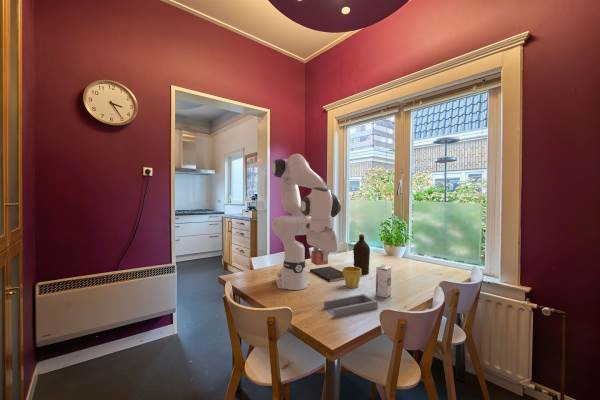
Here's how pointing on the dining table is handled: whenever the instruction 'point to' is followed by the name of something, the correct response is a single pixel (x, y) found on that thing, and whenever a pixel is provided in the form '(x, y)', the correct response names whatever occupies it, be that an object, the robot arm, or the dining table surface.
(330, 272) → the hardcover book
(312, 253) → the red block
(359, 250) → the olive oil
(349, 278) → the plant pot
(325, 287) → the dining table surface
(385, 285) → the syrup box
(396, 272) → the dining table surface
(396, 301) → the dining table surface
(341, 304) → the channel
